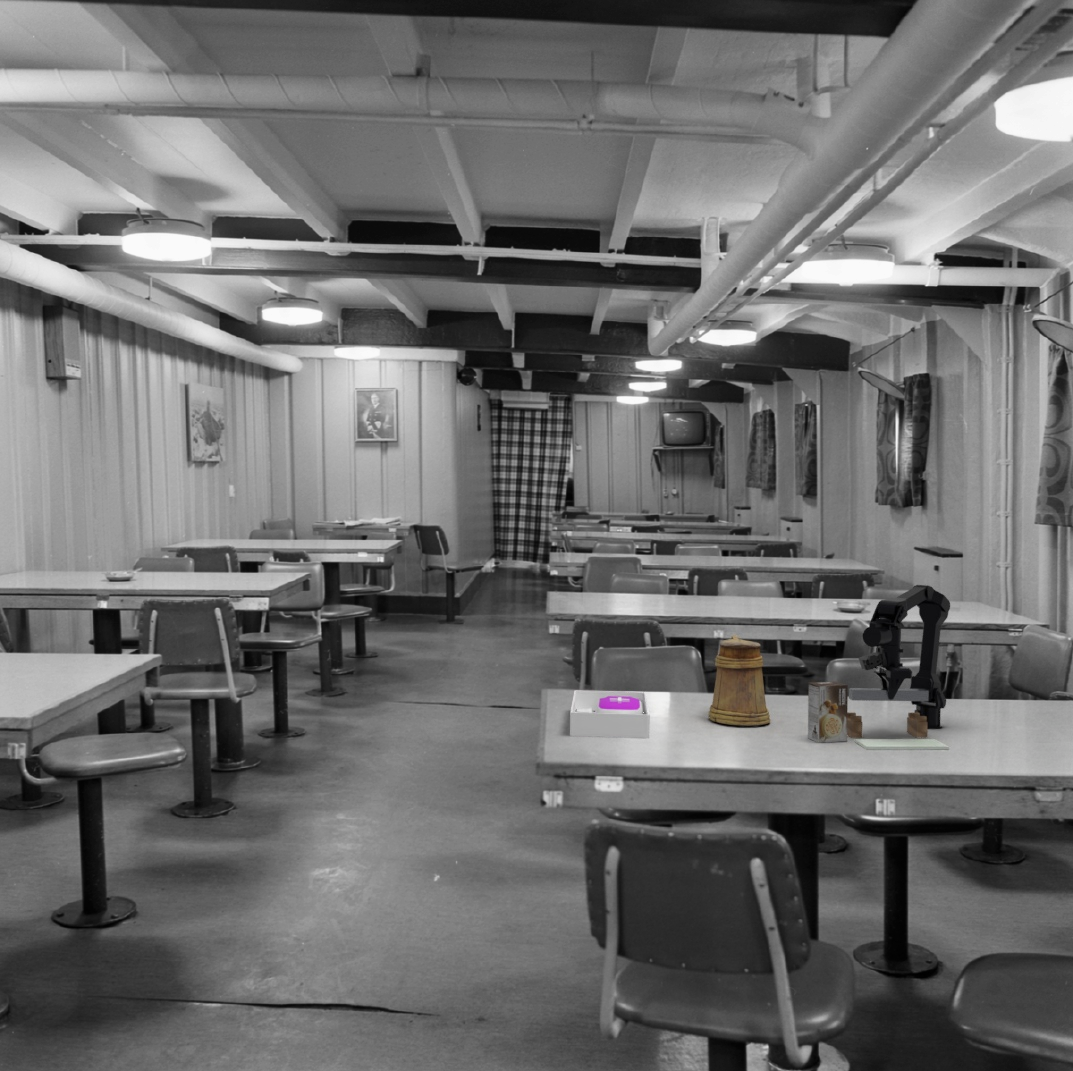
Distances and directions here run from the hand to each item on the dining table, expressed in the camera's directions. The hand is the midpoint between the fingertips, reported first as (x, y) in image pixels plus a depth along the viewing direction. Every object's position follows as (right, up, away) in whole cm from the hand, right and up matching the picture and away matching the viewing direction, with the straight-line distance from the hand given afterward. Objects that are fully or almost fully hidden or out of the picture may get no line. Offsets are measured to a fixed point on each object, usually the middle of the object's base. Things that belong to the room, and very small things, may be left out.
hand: (888, 698), depth 300 cm
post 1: (-10, -11, +2) cm, 15 cm away
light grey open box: (-79, -10, +13) cm, 81 cm away
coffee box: (-19, -11, -4) cm, 22 cm away
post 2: (+9, -11, +4) cm, 15 cm away
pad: (0, -12, -10) cm, 15 cm away
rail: (0, 0, 0) cm, 0 cm away
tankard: (-39, -10, +22) cm, 46 cm away
